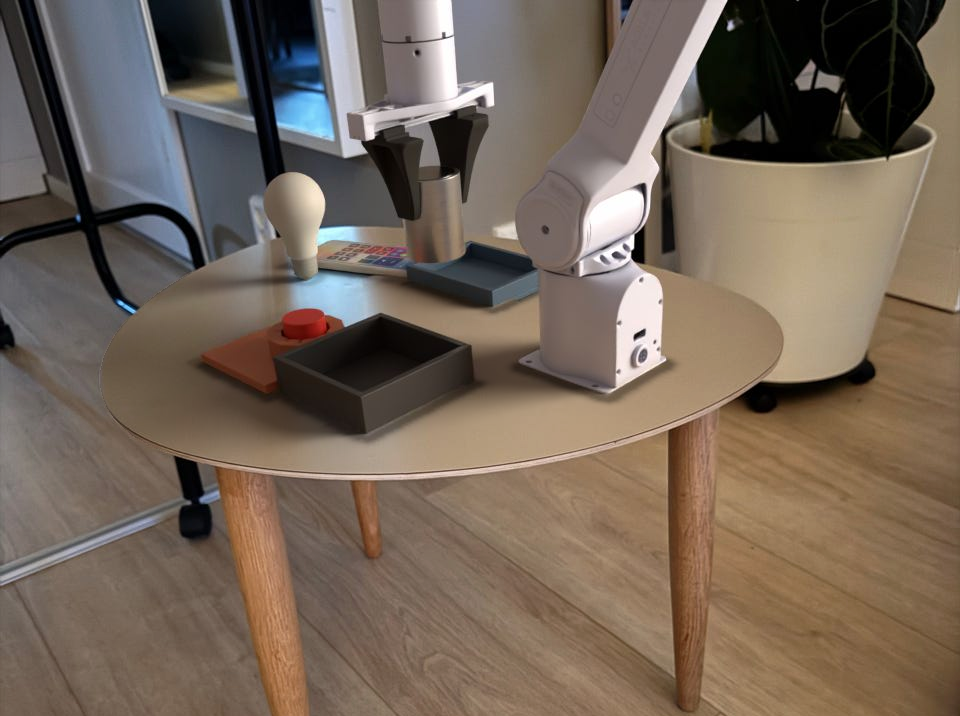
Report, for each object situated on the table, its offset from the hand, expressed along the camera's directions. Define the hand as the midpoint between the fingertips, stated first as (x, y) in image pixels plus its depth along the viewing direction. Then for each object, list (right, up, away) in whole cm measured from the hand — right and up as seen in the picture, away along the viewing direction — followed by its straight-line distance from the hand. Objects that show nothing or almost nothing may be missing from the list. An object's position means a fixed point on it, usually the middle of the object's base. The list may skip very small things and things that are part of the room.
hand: (433, 209), depth 82 cm
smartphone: (-8, 0, +20) cm, 22 cm away
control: (-13, -13, 0) cm, 19 cm away
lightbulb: (-14, -2, +18) cm, 23 cm away
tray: (+4, -4, +13) cm, 14 cm away
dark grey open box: (-4, -16, -5) cm, 18 cm away
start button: (-11, -11, -1) cm, 15 cm away
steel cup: (0, -3, +2) cm, 4 cm away
